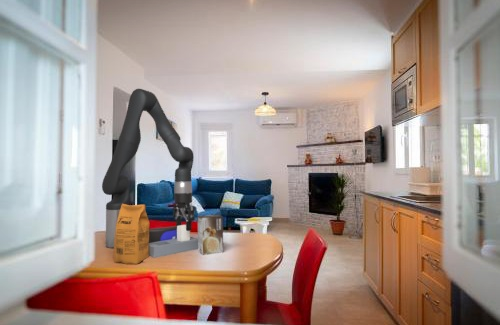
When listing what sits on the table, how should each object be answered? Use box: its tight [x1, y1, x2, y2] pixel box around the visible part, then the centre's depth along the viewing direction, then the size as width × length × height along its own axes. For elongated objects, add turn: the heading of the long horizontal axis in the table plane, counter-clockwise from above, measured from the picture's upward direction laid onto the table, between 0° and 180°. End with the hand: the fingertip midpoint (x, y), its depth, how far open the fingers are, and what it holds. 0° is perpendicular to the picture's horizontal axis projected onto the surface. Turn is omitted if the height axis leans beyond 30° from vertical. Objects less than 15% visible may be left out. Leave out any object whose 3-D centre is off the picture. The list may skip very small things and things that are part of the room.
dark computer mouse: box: [149, 225, 177, 243], centre depth 137 cm, size 16×5×9 cm, turn 123°
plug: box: [177, 224, 191, 242], centre depth 132 cm, size 4×4×10 cm
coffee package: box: [113, 204, 150, 265], centre depth 119 cm, size 10×12×22 cm
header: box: [149, 236, 198, 259], centre depth 129 cm, size 9×21×5 cm, turn 132°
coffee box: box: [197, 214, 224, 256], centre depth 127 cm, size 9×6×16 cm
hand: (183, 229), depth 132 cm, fingers open, 8 cm apart
